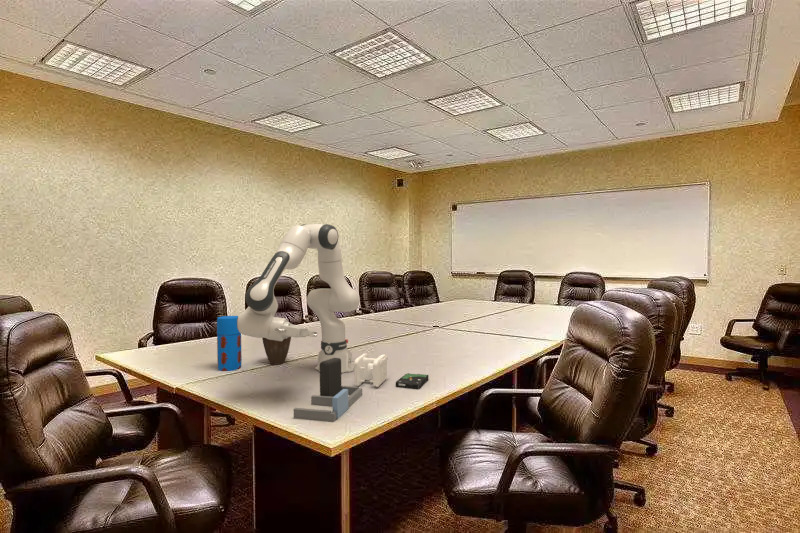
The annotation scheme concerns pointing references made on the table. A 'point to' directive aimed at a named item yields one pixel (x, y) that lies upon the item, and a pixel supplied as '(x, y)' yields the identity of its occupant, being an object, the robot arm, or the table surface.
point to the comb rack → (338, 402)
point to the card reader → (330, 377)
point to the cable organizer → (370, 369)
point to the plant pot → (276, 350)
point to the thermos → (228, 344)
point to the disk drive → (412, 381)
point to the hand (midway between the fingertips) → (315, 334)
